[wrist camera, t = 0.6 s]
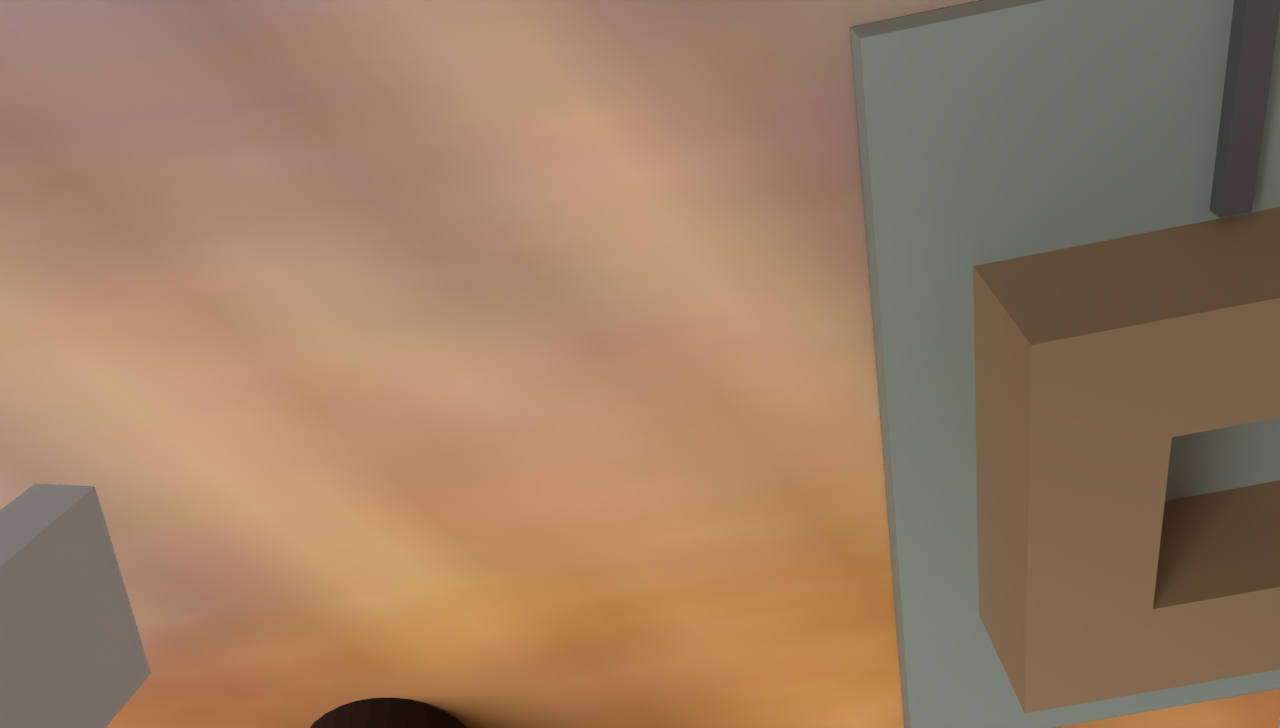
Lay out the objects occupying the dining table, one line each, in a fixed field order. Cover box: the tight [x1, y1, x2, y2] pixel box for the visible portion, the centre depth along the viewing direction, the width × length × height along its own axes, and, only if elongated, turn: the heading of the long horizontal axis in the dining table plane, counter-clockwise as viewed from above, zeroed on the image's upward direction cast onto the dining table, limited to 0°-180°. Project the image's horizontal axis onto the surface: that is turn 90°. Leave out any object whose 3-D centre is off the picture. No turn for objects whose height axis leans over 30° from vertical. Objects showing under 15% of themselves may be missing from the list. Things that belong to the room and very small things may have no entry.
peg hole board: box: [850, 0, 1280, 728], centre depth 29 cm, size 26×18×5 cm
